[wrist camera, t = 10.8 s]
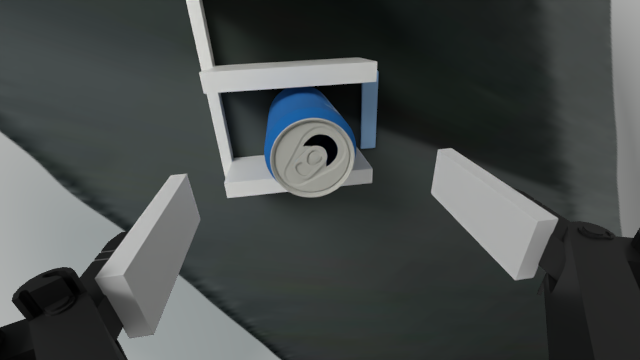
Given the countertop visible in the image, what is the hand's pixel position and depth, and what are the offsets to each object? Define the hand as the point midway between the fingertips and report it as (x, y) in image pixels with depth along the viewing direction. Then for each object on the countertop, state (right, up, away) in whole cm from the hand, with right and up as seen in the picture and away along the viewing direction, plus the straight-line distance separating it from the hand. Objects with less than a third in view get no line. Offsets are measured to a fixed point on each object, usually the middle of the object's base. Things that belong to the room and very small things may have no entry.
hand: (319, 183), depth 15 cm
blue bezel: (+5, +7, +15) cm, 17 cm away
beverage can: (-2, +7, +14) cm, 16 cm away
